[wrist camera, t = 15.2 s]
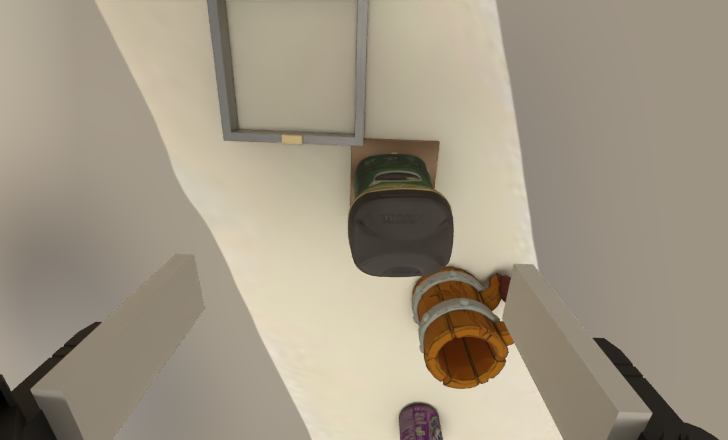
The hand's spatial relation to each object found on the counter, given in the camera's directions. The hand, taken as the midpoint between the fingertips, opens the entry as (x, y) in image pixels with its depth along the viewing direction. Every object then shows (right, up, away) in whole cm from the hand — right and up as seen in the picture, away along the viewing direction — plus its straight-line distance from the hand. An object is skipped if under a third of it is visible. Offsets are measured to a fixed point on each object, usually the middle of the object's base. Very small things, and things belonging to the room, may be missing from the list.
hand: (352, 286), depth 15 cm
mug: (+15, -8, +38) cm, 42 cm away
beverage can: (+10, -32, +49) cm, 59 cm away
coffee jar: (+4, +8, +31) cm, 32 cm away
